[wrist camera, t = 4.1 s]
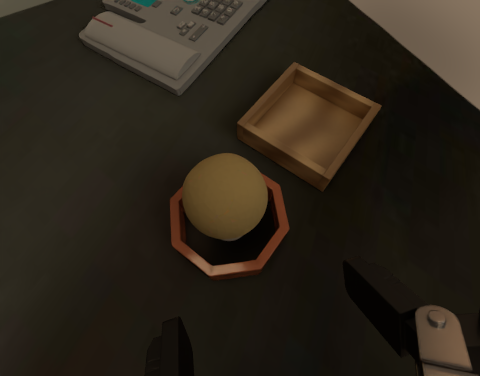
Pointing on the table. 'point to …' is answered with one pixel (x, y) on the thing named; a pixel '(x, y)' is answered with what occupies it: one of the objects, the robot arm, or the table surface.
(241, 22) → the office telephone
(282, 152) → the tray
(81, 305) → the table surface
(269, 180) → the orange octagonal ring
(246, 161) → the light bulb
